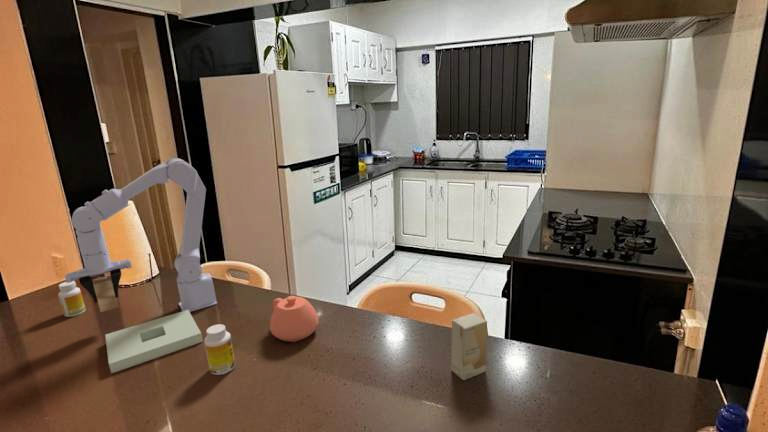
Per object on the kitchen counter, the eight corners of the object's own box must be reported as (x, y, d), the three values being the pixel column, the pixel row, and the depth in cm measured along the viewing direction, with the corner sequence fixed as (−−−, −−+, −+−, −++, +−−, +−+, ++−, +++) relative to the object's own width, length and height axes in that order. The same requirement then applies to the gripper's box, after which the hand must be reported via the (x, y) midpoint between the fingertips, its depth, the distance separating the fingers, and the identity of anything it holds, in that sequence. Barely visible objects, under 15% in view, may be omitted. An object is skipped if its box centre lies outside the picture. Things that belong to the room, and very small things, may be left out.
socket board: (189, 317, 119) (188, 309, 118) (202, 341, 106) (201, 332, 106) (107, 343, 108) (105, 334, 107) (111, 373, 95) (108, 364, 95)
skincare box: (463, 381, 86) (463, 329, 83) (450, 370, 90) (450, 319, 87) (487, 371, 89) (488, 320, 86) (474, 360, 93) (474, 311, 89)
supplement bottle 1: (90, 308, 128) (82, 279, 125) (76, 317, 123) (67, 287, 120) (74, 308, 128) (66, 279, 126) (59, 317, 123) (50, 287, 121)
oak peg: (116, 301, 116) (110, 275, 114) (118, 307, 113) (111, 280, 111) (100, 306, 114) (92, 279, 112) (100, 312, 111) (93, 284, 109)
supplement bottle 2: (237, 371, 94) (230, 331, 91) (211, 379, 91) (203, 338, 89) (234, 358, 98) (227, 319, 96) (209, 365, 96) (201, 326, 93)
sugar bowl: (293, 352, 100) (288, 314, 97) (257, 335, 108) (251, 299, 105) (329, 328, 109) (325, 293, 106) (293, 314, 117) (289, 281, 115)
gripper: (125, 241, 116) (135, 286, 120) (60, 254, 108) (74, 301, 112) (127, 248, 111) (138, 294, 114) (60, 262, 103) (74, 311, 107)
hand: (106, 298), depth 113 cm, fingers closed on oak peg, 4 cm apart
